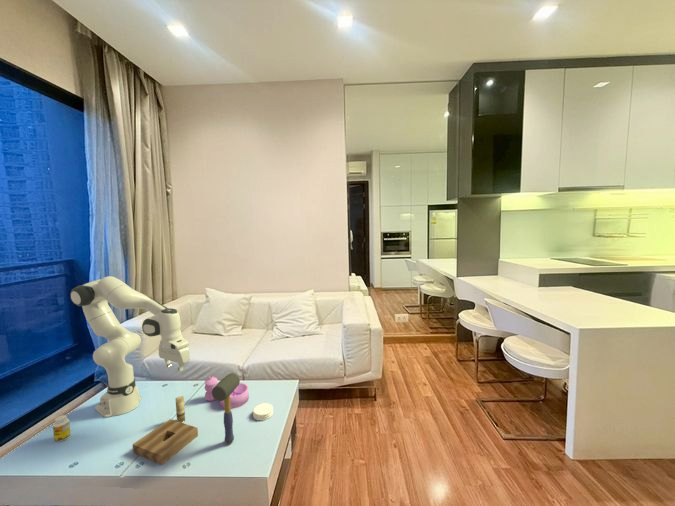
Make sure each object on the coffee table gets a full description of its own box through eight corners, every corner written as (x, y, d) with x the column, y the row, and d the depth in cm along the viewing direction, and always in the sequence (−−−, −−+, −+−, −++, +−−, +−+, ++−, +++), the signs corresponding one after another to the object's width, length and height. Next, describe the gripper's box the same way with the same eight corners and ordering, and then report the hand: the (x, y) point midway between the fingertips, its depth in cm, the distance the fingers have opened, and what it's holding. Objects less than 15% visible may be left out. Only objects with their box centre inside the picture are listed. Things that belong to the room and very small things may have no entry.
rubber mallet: (229, 453, 125) (225, 386, 123) (213, 451, 127) (209, 385, 124) (244, 433, 137) (240, 372, 135) (229, 432, 139) (225, 371, 136)
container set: (253, 394, 171) (252, 372, 169) (240, 410, 156) (238, 386, 155) (214, 391, 175) (213, 369, 174) (197, 406, 160) (196, 383, 159)
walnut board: (133, 452, 127) (132, 444, 127) (170, 426, 144) (170, 419, 143) (161, 464, 120) (161, 455, 120) (197, 435, 137) (197, 427, 136)
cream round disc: (249, 418, 149) (248, 412, 148) (260, 407, 158) (260, 401, 158) (266, 422, 145) (265, 416, 145) (276, 411, 154) (276, 404, 154)
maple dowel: (175, 422, 147) (173, 399, 146) (181, 417, 150) (180, 395, 149) (180, 424, 145) (178, 401, 144) (186, 419, 149) (185, 397, 148)
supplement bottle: (51, 441, 135) (49, 420, 135) (65, 433, 141) (63, 413, 140) (59, 443, 134) (57, 422, 133) (73, 435, 139) (71, 415, 138)
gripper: (153, 341, 146) (156, 367, 147) (178, 347, 136) (181, 375, 137) (166, 336, 152) (168, 362, 153) (191, 342, 142) (193, 369, 143)
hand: (175, 368), depth 145 cm, fingers open, 8 cm apart
